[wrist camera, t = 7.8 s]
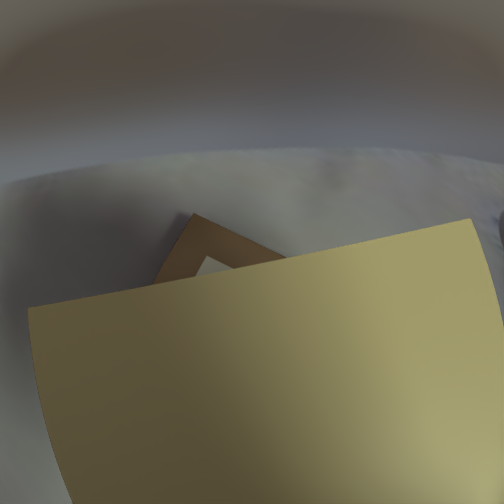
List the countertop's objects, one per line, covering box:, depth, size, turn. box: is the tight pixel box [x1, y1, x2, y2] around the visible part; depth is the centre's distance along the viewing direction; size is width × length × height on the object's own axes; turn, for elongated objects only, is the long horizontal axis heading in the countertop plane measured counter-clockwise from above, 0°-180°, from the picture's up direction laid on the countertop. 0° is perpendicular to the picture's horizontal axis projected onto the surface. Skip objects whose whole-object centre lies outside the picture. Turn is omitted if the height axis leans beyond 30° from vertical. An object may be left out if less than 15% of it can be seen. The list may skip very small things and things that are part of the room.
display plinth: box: [152, 213, 286, 285], centre depth 16 cm, size 14×14×2 cm
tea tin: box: [27, 218, 504, 504], centre depth 8 cm, size 5×5×12 cm
